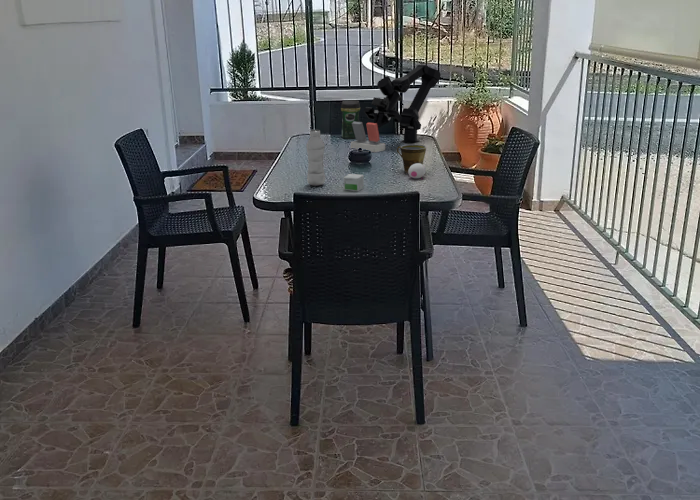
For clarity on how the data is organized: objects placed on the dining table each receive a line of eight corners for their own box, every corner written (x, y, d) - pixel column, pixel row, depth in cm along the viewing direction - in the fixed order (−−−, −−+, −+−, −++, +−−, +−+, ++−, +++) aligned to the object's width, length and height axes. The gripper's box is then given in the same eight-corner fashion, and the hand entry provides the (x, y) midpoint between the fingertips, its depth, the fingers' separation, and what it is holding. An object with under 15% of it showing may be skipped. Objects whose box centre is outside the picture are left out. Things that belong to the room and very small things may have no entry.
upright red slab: (371, 141, 297) (368, 122, 292) (380, 142, 294) (377, 123, 289) (369, 143, 296) (366, 123, 291) (377, 144, 293) (374, 124, 288)
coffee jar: (361, 136, 330) (360, 99, 323) (360, 139, 322) (359, 101, 316) (342, 136, 331) (341, 99, 324) (340, 139, 323) (340, 101, 317)
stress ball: (417, 184, 250) (410, 168, 251) (432, 175, 244) (425, 159, 245) (406, 187, 244) (398, 171, 245) (421, 177, 239) (413, 161, 240)
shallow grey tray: (360, 146, 305) (360, 139, 304) (385, 150, 296) (385, 143, 295) (350, 148, 301) (350, 141, 300) (375, 152, 291) (375, 145, 290)
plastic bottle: (307, 183, 240) (305, 129, 233) (325, 182, 240) (323, 128, 233) (307, 187, 234) (305, 132, 227) (326, 187, 234) (324, 131, 227)
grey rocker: (358, 139, 302) (354, 121, 297) (366, 140, 299) (362, 122, 294) (356, 141, 301) (351, 123, 296) (364, 142, 298) (359, 124, 293)
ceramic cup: (430, 171, 255) (431, 146, 251) (415, 176, 248) (415, 150, 245) (404, 166, 263) (405, 142, 260) (389, 171, 256) (389, 146, 253)
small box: (343, 190, 230) (343, 176, 228) (349, 186, 235) (349, 173, 233) (358, 191, 228) (358, 178, 226) (364, 187, 233) (364, 174, 231)
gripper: (366, 89, 296) (350, 116, 292) (398, 92, 284) (381, 120, 280) (377, 105, 304) (361, 131, 300) (408, 108, 292) (392, 135, 288)
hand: (373, 129), depth 292 cm, fingers closed, pressing on upright red slab
